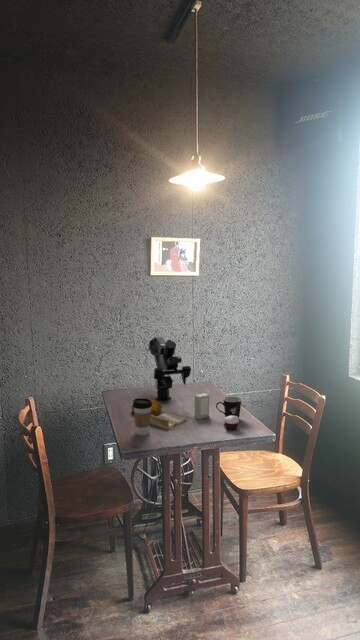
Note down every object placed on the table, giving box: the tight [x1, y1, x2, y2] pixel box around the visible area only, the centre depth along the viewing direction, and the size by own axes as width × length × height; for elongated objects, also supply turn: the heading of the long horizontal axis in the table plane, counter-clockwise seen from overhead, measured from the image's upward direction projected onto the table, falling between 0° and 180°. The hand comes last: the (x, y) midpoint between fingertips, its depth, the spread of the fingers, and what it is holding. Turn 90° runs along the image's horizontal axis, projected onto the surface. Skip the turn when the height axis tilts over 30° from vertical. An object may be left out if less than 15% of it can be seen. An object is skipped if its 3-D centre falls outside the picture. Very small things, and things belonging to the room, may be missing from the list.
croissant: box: [131, 397, 163, 416], centre depth 213 cm, size 14×16×8 cm
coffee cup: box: [132, 397, 152, 436], centre depth 186 cm, size 8×8×15 cm
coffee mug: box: [215, 396, 242, 419], centre depth 203 cm, size 12×9×10 cm
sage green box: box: [194, 392, 210, 420], centre depth 206 cm, size 4×6×11 cm, turn 125°
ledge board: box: [150, 412, 187, 430], centre depth 200 cm, size 14×13×4 cm
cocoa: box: [223, 400, 242, 432], centre depth 190 cm, size 10×6×12 cm, turn 103°
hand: (175, 384), depth 208 cm, fingers open, 9 cm apart
